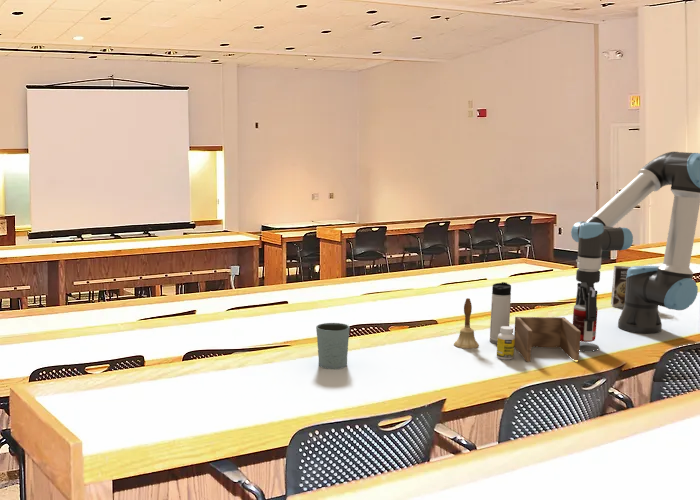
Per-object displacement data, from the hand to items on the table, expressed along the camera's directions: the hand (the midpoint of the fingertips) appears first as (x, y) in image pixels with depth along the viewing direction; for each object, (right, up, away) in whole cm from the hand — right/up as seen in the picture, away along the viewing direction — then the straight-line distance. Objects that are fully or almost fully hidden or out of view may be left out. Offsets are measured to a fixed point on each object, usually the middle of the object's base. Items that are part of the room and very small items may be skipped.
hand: (583, 336), depth 289 cm
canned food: (0, -1, 0) cm, 1 cm away
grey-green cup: (-83, -6, -25) cm, 87 cm away
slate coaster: (0, -4, +1) cm, 4 cm away
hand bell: (-39, -3, 0) cm, 39 cm away
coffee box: (+34, +6, +65) cm, 74 cm away
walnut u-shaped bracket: (-15, -5, -9) cm, 18 cm away
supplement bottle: (-28, -5, -13) cm, 32 cm away
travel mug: (-27, -2, +5) cm, 28 cm away
